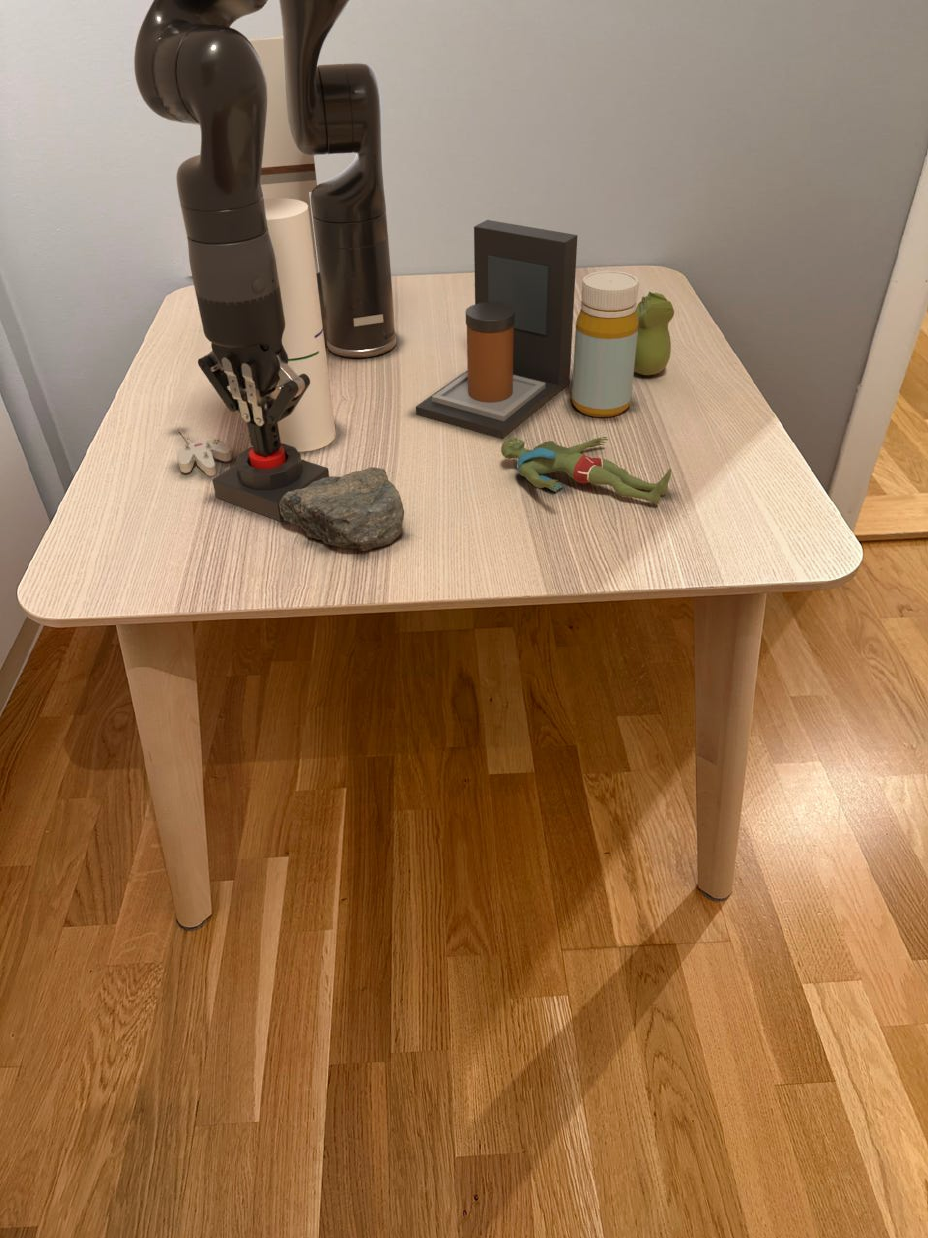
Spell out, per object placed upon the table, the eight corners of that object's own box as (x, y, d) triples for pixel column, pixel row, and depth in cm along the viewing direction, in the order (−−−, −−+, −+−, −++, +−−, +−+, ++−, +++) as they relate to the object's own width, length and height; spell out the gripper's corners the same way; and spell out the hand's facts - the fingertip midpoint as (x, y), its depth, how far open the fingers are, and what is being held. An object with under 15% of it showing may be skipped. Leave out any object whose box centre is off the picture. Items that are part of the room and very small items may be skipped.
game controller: (198, 483, 100) (193, 462, 98) (137, 451, 106) (131, 430, 104) (240, 462, 103) (236, 441, 102) (179, 432, 109) (174, 411, 108)
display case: (332, 323, 133) (300, 37, 111) (257, 331, 132) (209, 42, 109) (323, 295, 142) (291, 24, 120) (252, 302, 140) (207, 29, 118)
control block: (215, 497, 98) (208, 464, 95) (267, 464, 103) (261, 431, 100) (280, 521, 94) (274, 487, 91) (330, 485, 99) (326, 452, 97)
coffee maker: (487, 363, 122) (487, 219, 110) (569, 383, 117) (577, 234, 105) (415, 414, 111) (406, 260, 100) (502, 438, 106) (503, 280, 95)
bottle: (628, 421, 109) (641, 293, 99) (568, 416, 110) (575, 289, 100) (632, 394, 114) (644, 270, 104) (574, 390, 115) (582, 267, 106)
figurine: (648, 499, 87) (473, 454, 93) (640, 536, 89) (469, 491, 95) (686, 448, 100) (530, 412, 105) (679, 483, 102) (526, 445, 107)
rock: (413, 504, 96) (410, 461, 93) (400, 561, 88) (396, 516, 85) (294, 501, 97) (287, 458, 94) (271, 557, 89) (262, 513, 86)
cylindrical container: (345, 426, 109) (320, 200, 93) (319, 455, 104) (287, 222, 88) (291, 418, 111) (257, 195, 95) (262, 446, 106) (221, 216, 90)
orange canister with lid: (498, 406, 109) (498, 324, 103) (458, 396, 112) (456, 314, 105) (529, 383, 114) (530, 302, 108) (489, 373, 117) (489, 293, 110)
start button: (244, 469, 96) (241, 454, 95) (267, 454, 98) (265, 439, 97) (270, 478, 95) (267, 463, 93) (293, 463, 97) (291, 448, 96)
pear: (653, 360, 121) (662, 283, 115) (676, 376, 118) (686, 298, 111) (616, 368, 120) (623, 291, 113) (638, 385, 116) (646, 306, 110)
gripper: (320, 282, 84) (341, 453, 95) (213, 258, 90) (244, 422, 101) (263, 310, 79) (292, 486, 90) (154, 283, 85) (194, 452, 96)
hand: (267, 452), depth 95 cm, fingers closed
